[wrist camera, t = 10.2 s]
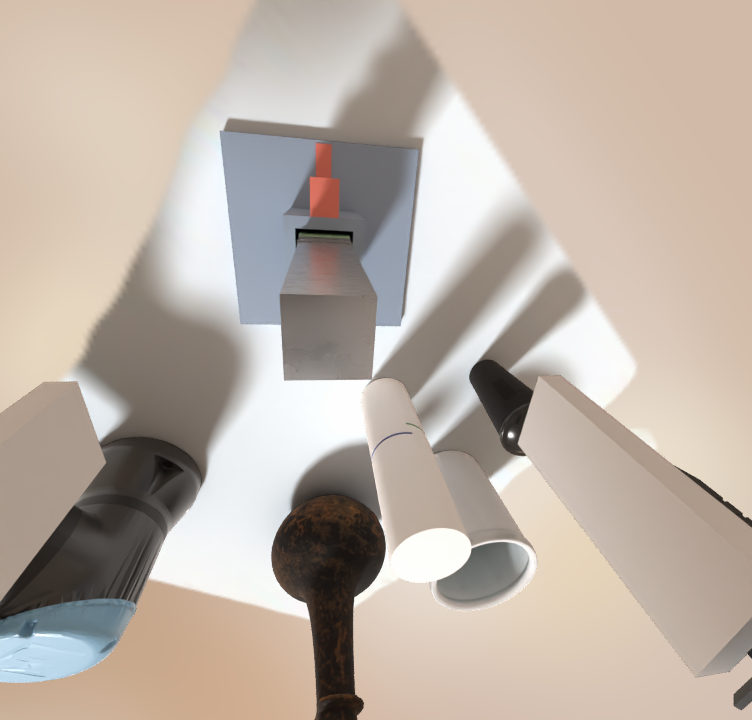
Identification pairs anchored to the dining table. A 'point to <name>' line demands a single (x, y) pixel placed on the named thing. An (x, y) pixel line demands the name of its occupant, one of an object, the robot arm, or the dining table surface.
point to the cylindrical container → (411, 488)
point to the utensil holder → (482, 541)
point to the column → (327, 311)
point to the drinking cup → (502, 401)
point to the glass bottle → (330, 586)
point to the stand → (316, 213)
